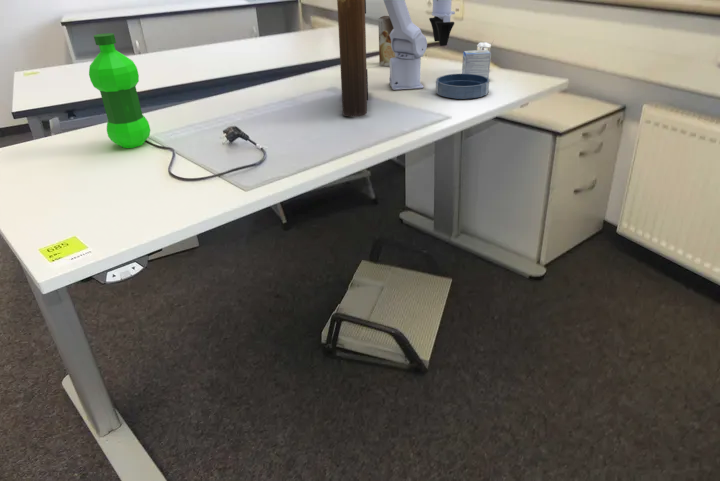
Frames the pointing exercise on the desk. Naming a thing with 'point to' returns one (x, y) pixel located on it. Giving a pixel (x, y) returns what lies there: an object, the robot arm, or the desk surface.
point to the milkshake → (484, 46)
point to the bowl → (462, 86)
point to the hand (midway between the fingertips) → (440, 43)
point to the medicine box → (476, 62)
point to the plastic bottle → (119, 93)
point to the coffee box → (385, 41)
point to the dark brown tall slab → (353, 56)
